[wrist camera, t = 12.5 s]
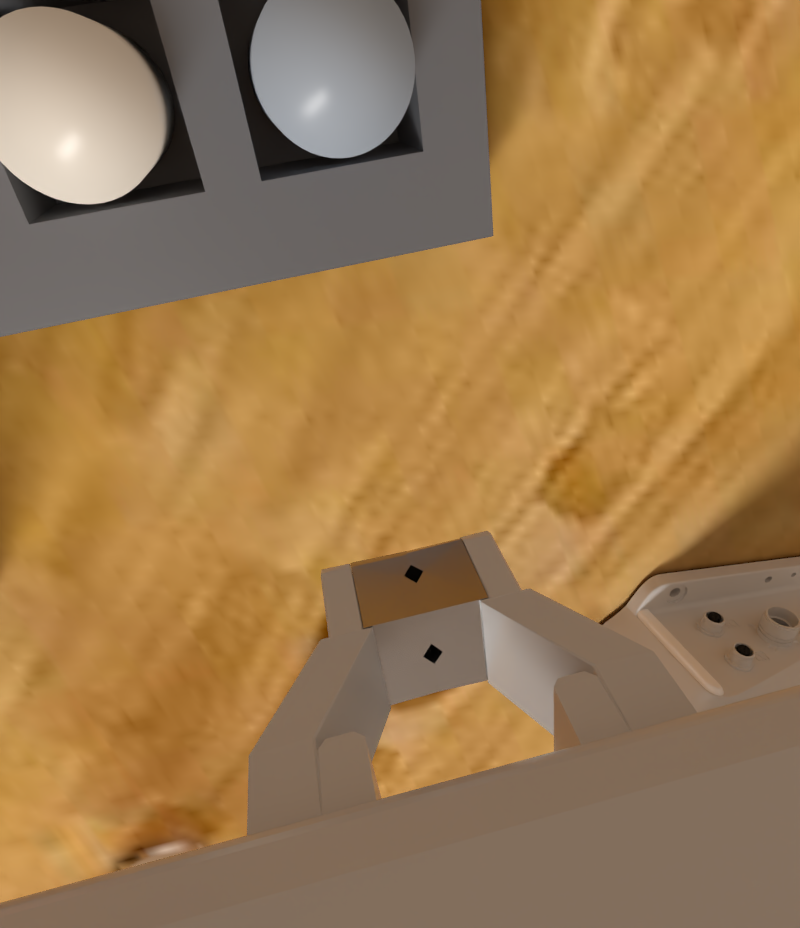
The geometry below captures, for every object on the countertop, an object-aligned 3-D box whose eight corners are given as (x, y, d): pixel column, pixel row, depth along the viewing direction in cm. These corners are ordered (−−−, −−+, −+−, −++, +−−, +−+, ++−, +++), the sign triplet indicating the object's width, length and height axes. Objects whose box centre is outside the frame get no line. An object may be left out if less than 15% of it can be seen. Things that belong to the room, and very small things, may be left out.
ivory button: (147, 12, 22) (122, -7, 17) (192, 166, 25) (182, 188, 20) (0, 34, 21) (-70, 21, 17) (62, 189, 24) (19, 218, 19)
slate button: (366, -21, 23) (403, -48, 18) (386, 131, 26) (424, 143, 21) (231, -1, 22) (231, -23, 17) (266, 152, 25) (275, 171, 20)
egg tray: (427, -175, 22) (468, -227, 18) (459, 215, 29) (493, 236, 25) (-443, -68, 19) (-612, -105, 15) (-166, 339, 26) (-234, 384, 22)
